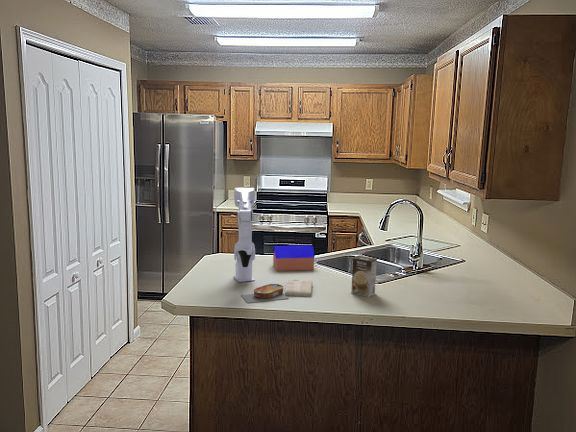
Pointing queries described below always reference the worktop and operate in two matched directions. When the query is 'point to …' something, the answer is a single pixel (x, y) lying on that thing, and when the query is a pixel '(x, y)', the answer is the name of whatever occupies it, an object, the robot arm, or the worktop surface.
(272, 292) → the tin
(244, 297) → the mat
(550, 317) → the worktop surface
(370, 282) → the coffee box
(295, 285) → the washcloth
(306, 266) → the two-tone brick
